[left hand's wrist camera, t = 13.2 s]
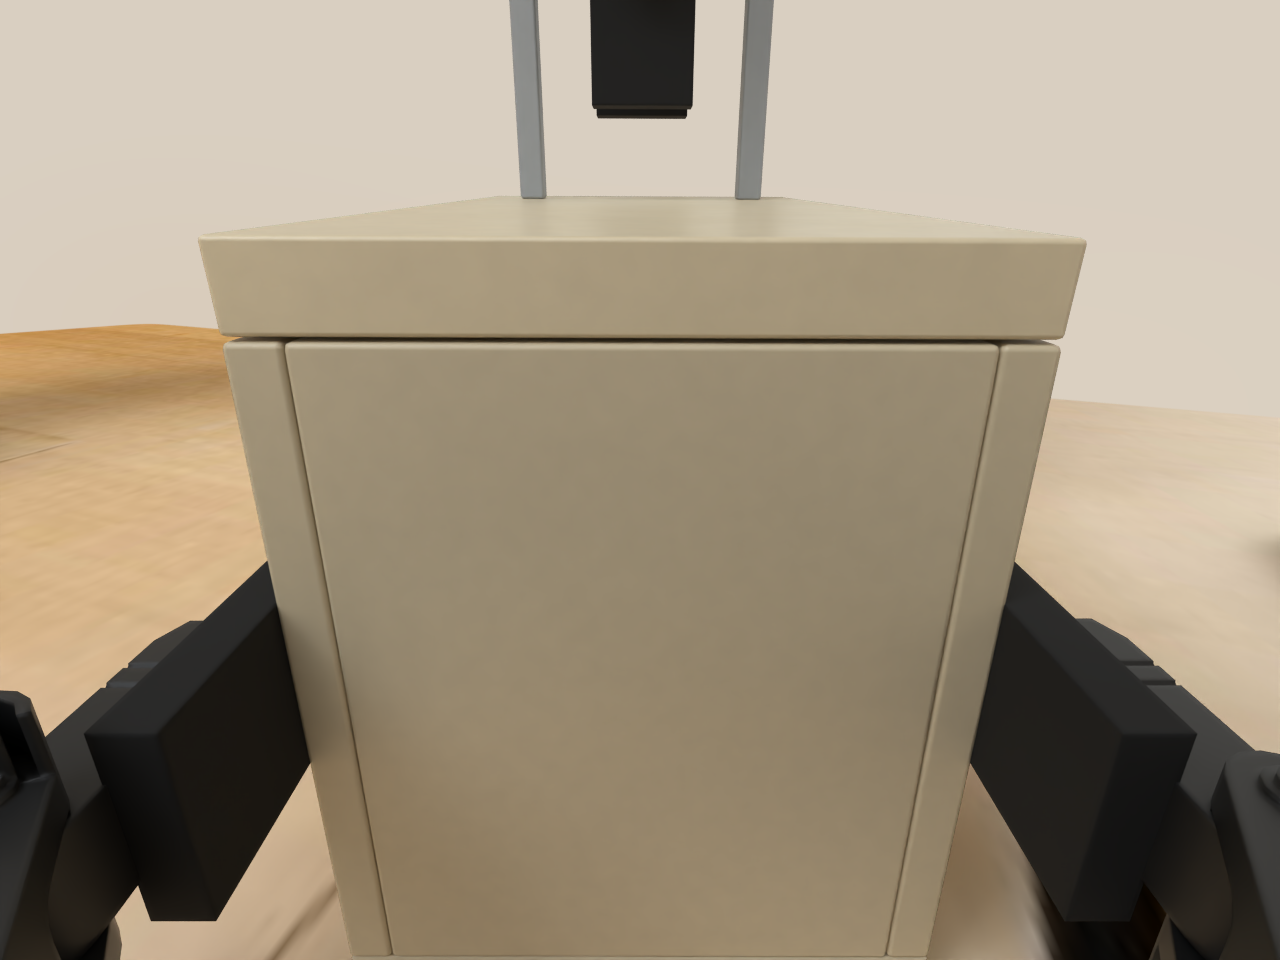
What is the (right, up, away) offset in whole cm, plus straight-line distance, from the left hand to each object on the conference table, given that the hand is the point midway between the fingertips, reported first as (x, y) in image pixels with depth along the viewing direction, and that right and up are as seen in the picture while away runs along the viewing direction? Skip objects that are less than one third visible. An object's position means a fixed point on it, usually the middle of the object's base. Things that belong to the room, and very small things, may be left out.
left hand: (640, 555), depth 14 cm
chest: (0, -4, +6) cm, 8 cm away
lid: (0, +7, +3) cm, 7 cm away
